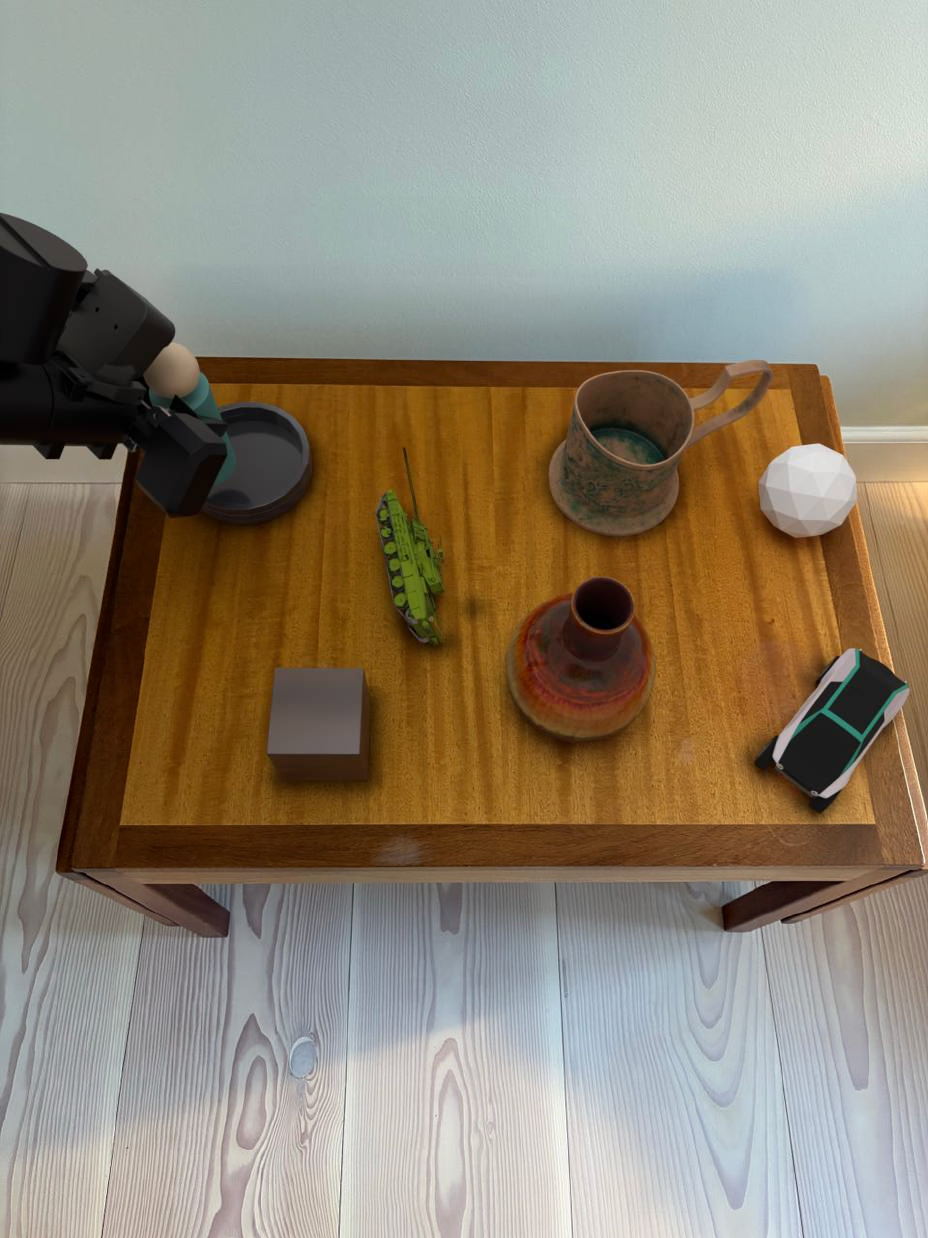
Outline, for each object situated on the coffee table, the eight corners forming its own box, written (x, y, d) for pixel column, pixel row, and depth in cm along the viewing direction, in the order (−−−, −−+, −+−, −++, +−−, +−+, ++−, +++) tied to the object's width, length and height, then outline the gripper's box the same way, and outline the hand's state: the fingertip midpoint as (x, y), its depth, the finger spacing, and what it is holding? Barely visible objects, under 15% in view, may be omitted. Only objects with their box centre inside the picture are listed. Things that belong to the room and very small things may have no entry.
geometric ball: (763, 551, 73) (728, 494, 79) (844, 560, 76) (805, 504, 81) (809, 475, 69) (768, 420, 74) (895, 487, 71) (849, 432, 76)
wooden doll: (246, 464, 74) (208, 352, 62) (205, 495, 73) (157, 387, 61) (213, 433, 76) (169, 317, 63) (171, 463, 74) (118, 351, 62)
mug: (761, 500, 79) (812, 414, 68) (575, 551, 76) (597, 470, 65) (707, 400, 84) (747, 304, 73) (530, 444, 81) (544, 352, 70)
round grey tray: (308, 525, 77) (304, 510, 75) (177, 524, 77) (169, 508, 74) (316, 420, 82) (313, 402, 79) (193, 418, 81) (186, 400, 79)
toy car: (894, 706, 71) (927, 682, 66) (813, 818, 67) (842, 801, 62) (830, 660, 73) (858, 633, 68) (748, 767, 69) (771, 746, 64)
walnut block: (367, 781, 67) (359, 754, 61) (282, 780, 67) (265, 754, 61) (371, 701, 70) (364, 667, 64) (289, 700, 70) (274, 667, 64)
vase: (655, 745, 69) (710, 672, 55) (515, 766, 68) (534, 696, 54) (623, 617, 74) (666, 519, 60) (491, 635, 73) (503, 539, 59)
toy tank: (370, 633, 67) (499, 598, 66) (334, 431, 75) (449, 398, 74) (394, 665, 73) (512, 633, 72) (359, 476, 81) (464, 446, 80)
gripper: (162, 372, 50) (332, 391, 64) (-22, 201, 55) (171, 252, 69) (95, 529, 55) (266, 516, 68) (-69, 358, 60) (120, 377, 74)
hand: (206, 411), depth 70 cm, fingers closed on wooden doll, 4 cm apart
